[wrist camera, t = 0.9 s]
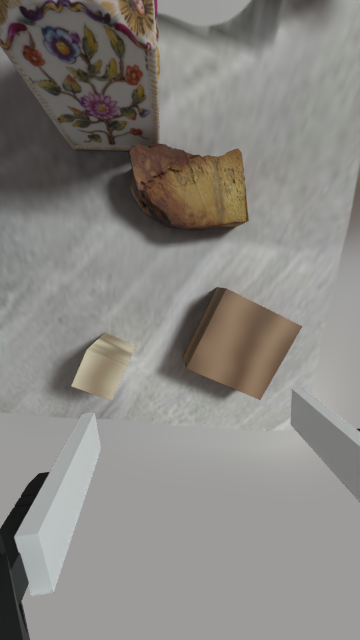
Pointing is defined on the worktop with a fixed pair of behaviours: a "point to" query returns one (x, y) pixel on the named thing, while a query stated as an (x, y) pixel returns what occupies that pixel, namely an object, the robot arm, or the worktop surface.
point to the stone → (189, 187)
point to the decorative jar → (89, 67)
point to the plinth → (239, 343)
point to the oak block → (103, 366)
